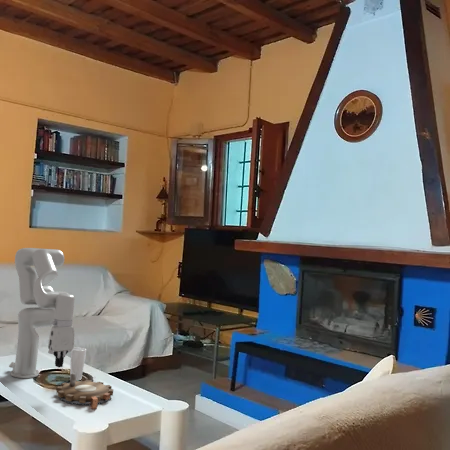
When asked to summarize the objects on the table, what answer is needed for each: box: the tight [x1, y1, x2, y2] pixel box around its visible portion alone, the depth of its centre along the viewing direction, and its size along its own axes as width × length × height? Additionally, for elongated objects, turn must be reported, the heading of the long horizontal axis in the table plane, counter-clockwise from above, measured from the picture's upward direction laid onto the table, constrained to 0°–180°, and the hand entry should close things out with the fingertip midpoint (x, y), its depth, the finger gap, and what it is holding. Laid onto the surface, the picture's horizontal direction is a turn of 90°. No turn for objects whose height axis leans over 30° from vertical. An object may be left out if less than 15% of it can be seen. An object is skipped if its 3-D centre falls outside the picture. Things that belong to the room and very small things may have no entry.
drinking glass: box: [69, 346, 87, 381], centre depth 245 cm, size 7×7×15 cm
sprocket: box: [56, 373, 114, 403], centre depth 226 cm, size 24×24×7 cm
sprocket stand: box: [57, 395, 111, 410], centre depth 225 cm, size 24×22×4 cm
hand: (58, 366), depth 221 cm, fingers closed
